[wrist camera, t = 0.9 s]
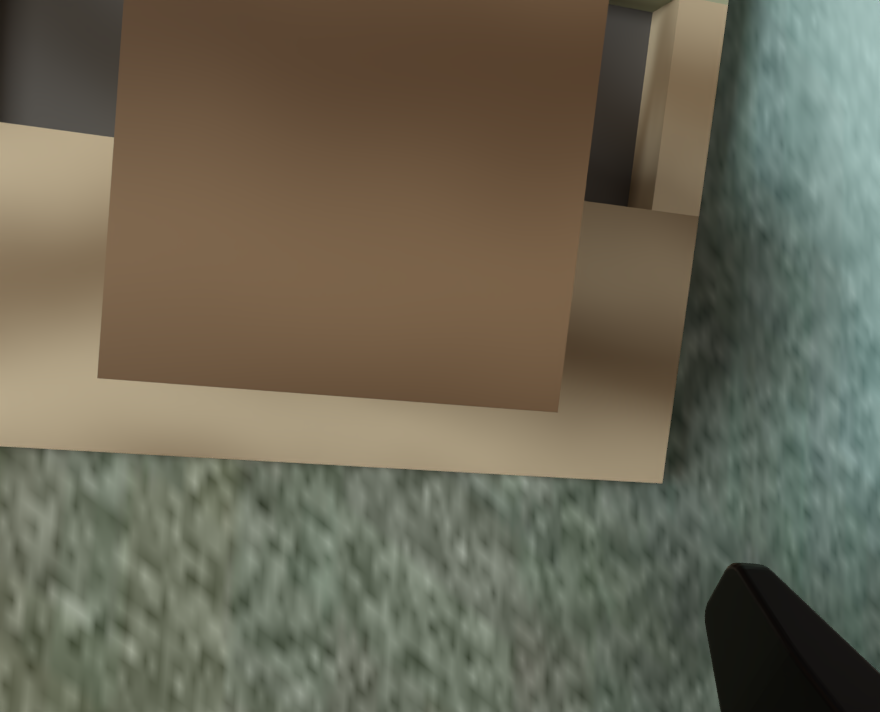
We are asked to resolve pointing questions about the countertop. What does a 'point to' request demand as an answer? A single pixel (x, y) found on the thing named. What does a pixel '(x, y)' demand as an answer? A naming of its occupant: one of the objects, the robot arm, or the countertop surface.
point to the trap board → (334, 417)
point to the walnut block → (350, 196)
